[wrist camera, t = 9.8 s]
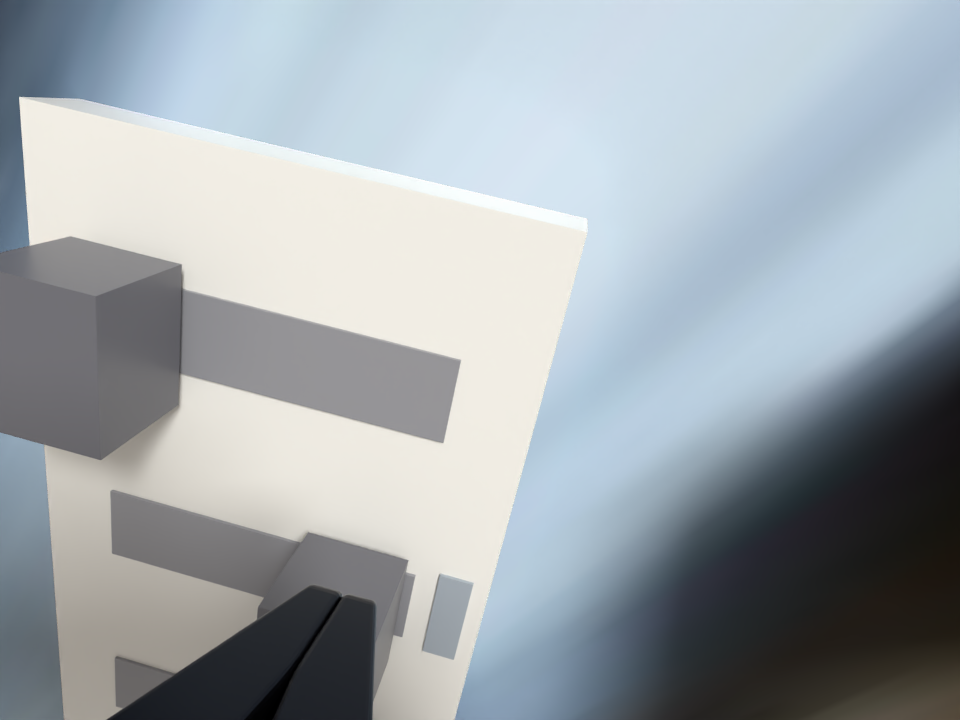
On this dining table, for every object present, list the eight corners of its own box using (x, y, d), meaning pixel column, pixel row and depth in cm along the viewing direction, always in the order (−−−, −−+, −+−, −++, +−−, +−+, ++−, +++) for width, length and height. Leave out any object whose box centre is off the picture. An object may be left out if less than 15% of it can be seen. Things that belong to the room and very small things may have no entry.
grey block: (408, 560, 18) (376, 641, 15) (387, 661, 20) (354, 752, 17) (308, 532, 18) (258, 607, 15) (295, 634, 20) (247, 719, 17)
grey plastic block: (182, 264, 16) (95, 296, 13) (178, 405, 17) (100, 459, 15) (70, 236, 16) (-38, 262, 13) (76, 377, 18) (-19, 427, 15)
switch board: (587, 218, 16) (587, 232, 14) (427, 810, 25) (413, 868, 23) (80, 98, 17) (15, 96, 15) (103, 711, 26) (64, 758, 24)
